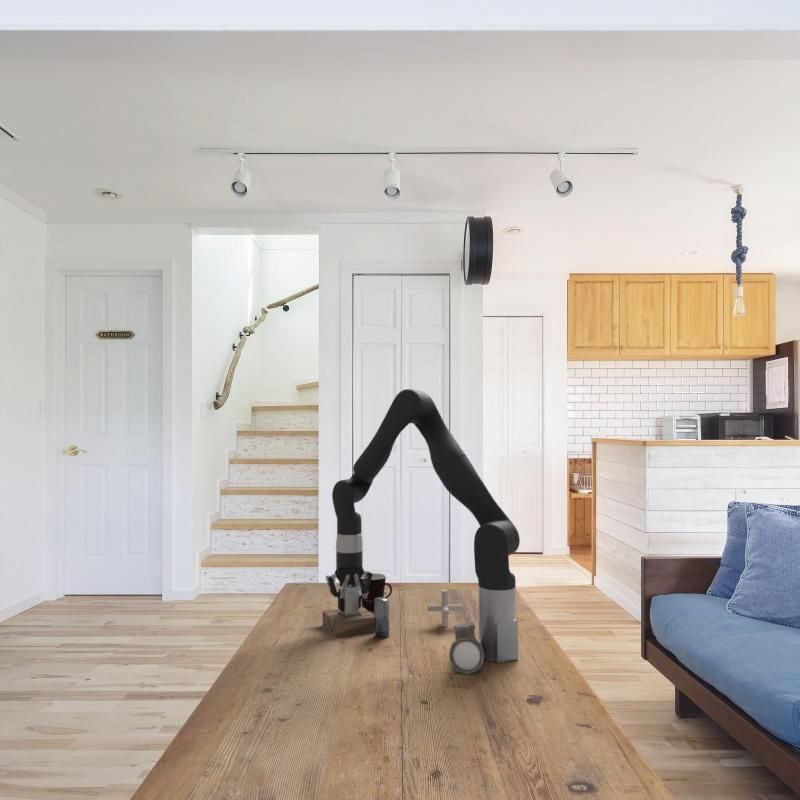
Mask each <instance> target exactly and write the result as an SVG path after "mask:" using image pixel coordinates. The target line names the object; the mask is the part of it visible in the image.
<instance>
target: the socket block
mask: <svg viewBox="0 0 800 800" xmlns="http://www.w3.org/2000/svg"><path fill="white" fill-rule="evenodd" d="M323 625H324V626H325V627H326V628H325V627H324V626H323ZM322 626H323V627H324V628H325V629H326V630H327V631H329V632H330V633H331V632H332V633H333V634H334V635H335V637H336V638H341V636H342V637H348V635H349V636H353V635H355V636H356V635H360V634H367V633H375V627H374V613H372V611H368V610H366V609H365V608H363V607H362V605H361V607H359V616H354V617H346V618H343V617H341V616H340V609H338V608H335V609H328V610H322ZM332 633H331V634H332ZM334 635H333V636H334Z"/></svg>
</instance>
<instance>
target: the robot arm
mask: <svg viewBox="0 0 800 800" xmlns="http://www.w3.org/2000/svg"><path fill="white" fill-rule="evenodd" d="M410 424H413V425H414V427H416V429H417V430H418V431H419V434H420V435H422V437H423V439H424V440H425V442H426V444H427V447H428V450H429V451H428V452H429V455H430V456H429V457H430V461H431V465H432V468H433V470H434V472H435V474H436V476H437V477H438V478H439V480H440V481H441V483H442V486H444V488H445V489H446V491H448V492H449V494H450V495H451V496H452V497H454V498H455V499H456V500H457V501H458V502H459V503H460V504H462V505H463V506H464V507H466V509H467V510H468V511H469V512H470V513H471V514H472V515H473V517H474V518H475V520H476V522H477V523H478V525H479V527H478V528H477V530H476V532H475V534H474V540H473V554H474V555H473V556H474V571H475V575H476V577H477V583H478V591H477V592H478V642H479V643H480V644H481V646H482V648H483V652H484V660H486V661H488V662H489V661H491V662H494V663H497V664H499V663H505V662H510V661H515V660H519V622H518V619H517V609H516V608H517V602H516V600H517V599H516V595H517V594H516V591H517V590H516V589H517V587H516V583H517V582H516V576H515V574H514V573H513V572H511V570H510V561H509V560H510V559H509V558H510V557H509V556H511V555H513V554H515V552H517V551H518V549H519V546H520V541H521V539H520V534H519V531H518V530H517V527H516V525H515V524H514V523H513V522H512V520H511V519H510V518H509V517H508V515H507V514H506V513H505V512H504V511H503V509H502V508H501V507H500V506H499V504H498V503H497V502H496V501H495V498H494V497H493V496H492V494H491V493H490V491H489V490H488V487H487V486H486V485H485V482H483V480H482V478H481V477H480V476H479V474H478V472H477V470H476V469H475V467H474V465H473V464H472V462H471V461H470V459H469V458H468V456H467V454H465V452H464V450H463V449H462V447H461V446H460V444H459V443H458V442H457V440H456V439H455V437H454V435H453V434H452V433H451V431H450V430H449V429H448V426H447V425H446V423H445V421H444V419H443V417H442V416H441V413H440V412H439V409H438V408H437V405H436V403H435V402H434V400H433V398H432V397H431V396H430V395H429V394H428V393H426V392H424V391H421V390H417V389H412V388H408V389H407V388H406V389H405V388H404V389H403V390H401V391H400V392H398V393H397V394H396V395H395V397H394V399H393V401H392V402H391V404H390V406H389V408H388V410H387V412H386V414H385V415H384V417H383V420H382V422H381V424H380V425H379V427H378V429H377V431H376V432H375V434H374V436H373V437H372V439H371V441H370V442H369V444H368V445H367V447H365V449H364V450H363V452H362V453H361V454H360V456H359V457H358V458H357V460H356V461H355V463H354V464H353V467H352V470H353V474H352V475H351V477H349V479H340V480H338V481H337V482H336V483H335V484H334V486H333V488H332V493H331V497H332V498H331V499H332V503H333V504H332V505H333V508H334V513H335V516H336V539H335V551H336V552H335V557H336V558H335V559H336V560H335V562H336V563H335V567H336V568H335V571H334V573H333V574H331V575H326V576H325V580H326V583H327V585H328V586H327V587H328V588H329V591H330V594H331V596H333V597H334V598H337V609H340V611H341V612H344V590H345V588H347V586H349V585H356V587H358V596H359V607H361V606H362V602H361V596H362V595H363V594H364V593H365V594H366V593H367V592H368V589H369V585H370V582H371V579H372V576H373V574H372V573H373V572H370V571H369V570H367V571H366V570H364V568H363V562H364V561H363V560H364V559H363V557H364V555H363V551H364V549H363V536H362V531H363V530H362V516H361V514H360V513H359V512H357V511H356V506H355V504H357V503H359V502H360V501H362V500H363V499H364V498H365V497H366V495H367V494H368V493H369V490H370V488H371V486H372V484H373V482H374V480H375V478H376V477H377V476H378V474H379V473H380V471H381V470H383V468H384V466H385V465H386V463H387V462H388V460H389V458H390V456H391V453H392V451H393V447H394V444H395V442H396V440H397V438H398V437H399V435H400V434H401V433H402V431H404V430H405V428H407V427H408V426H409V425H410ZM362 575H363V578H364V580H363V583H362V587H361V586H360V582H359V580H360V579H361V577H362ZM336 579H337V580H338V581H339V582H338V585H337V586H338V587H337V588H338V590H337V588H336V584H335V583H336Z"/></svg>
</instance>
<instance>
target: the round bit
mask: <svg viewBox="0 0 800 800" xmlns="http://www.w3.org/2000/svg"><path fill="white" fill-rule="evenodd" d="M385 597H386V596H384V597H379V598H375V599H374V611H373V612H374V613H373V614H374V627H375V632H374V638H376V639H378V640H379V639H380V640H381V639H388V638H390V597H388V598H385Z"/></svg>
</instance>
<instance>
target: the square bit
mask: <svg viewBox="0 0 800 800" xmlns="http://www.w3.org/2000/svg"><path fill="white" fill-rule="evenodd" d="M340 616H341V617H343V618H346V617H354V616H359V596H358V587H356V585H349V586H347V588H345V590H344V612H341V611H340Z"/></svg>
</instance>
